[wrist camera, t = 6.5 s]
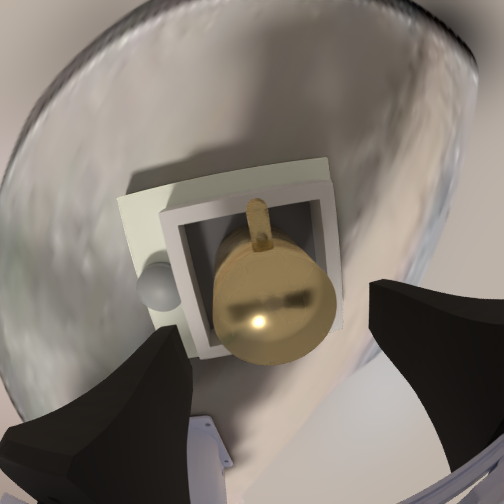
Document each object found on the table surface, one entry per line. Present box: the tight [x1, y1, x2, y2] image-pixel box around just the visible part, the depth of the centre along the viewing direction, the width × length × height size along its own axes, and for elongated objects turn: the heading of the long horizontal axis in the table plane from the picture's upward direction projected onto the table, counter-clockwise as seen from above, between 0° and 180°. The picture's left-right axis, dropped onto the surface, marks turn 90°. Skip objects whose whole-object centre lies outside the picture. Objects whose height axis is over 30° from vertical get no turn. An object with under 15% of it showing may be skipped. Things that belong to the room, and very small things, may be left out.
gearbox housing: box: [117, 157, 343, 360], centre depth 16 cm, size 11×12×4 cm
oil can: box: [213, 198, 337, 365], centre depth 13 cm, size 7×5×6 cm
